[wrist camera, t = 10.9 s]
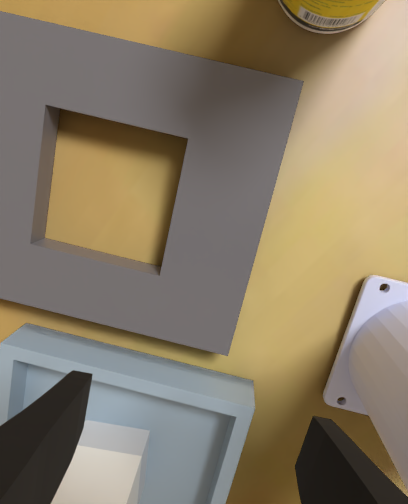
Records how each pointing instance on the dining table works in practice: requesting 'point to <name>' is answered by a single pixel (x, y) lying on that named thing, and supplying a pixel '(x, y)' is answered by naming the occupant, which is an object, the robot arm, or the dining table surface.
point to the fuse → (106, 466)
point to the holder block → (189, 189)
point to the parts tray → (141, 407)
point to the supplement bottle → (329, 13)
